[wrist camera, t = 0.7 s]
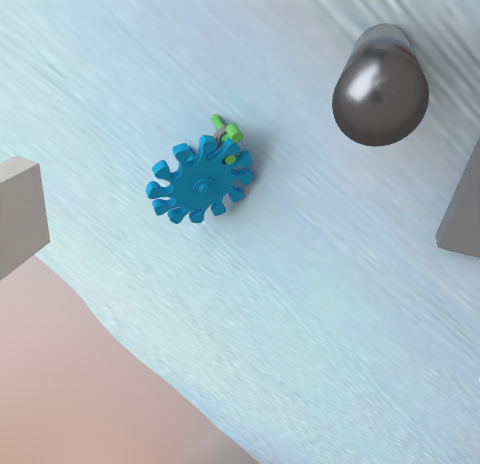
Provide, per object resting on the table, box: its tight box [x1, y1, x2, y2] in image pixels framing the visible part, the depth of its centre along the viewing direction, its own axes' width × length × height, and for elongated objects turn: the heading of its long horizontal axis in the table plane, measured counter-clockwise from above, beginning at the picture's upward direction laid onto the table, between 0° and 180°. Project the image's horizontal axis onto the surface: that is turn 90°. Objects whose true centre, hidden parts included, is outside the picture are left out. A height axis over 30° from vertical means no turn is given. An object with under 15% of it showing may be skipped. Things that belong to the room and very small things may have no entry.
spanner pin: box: [332, 24, 429, 146], centre depth 25 cm, size 4×4×16 cm
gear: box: [146, 114, 254, 224], centre depth 38 cm, size 11×6×10 cm
